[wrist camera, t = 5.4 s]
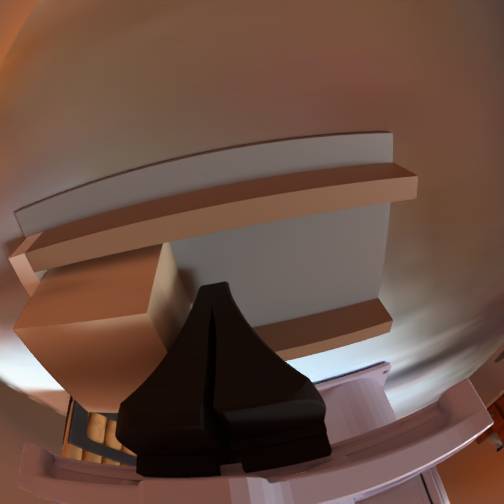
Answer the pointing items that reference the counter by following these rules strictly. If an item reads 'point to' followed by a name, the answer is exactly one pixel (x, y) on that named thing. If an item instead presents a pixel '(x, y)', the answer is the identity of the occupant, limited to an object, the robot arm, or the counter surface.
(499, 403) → the milk bottle holder
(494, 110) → the counter surface
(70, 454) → the ammunition clip
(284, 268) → the bay
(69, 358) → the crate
